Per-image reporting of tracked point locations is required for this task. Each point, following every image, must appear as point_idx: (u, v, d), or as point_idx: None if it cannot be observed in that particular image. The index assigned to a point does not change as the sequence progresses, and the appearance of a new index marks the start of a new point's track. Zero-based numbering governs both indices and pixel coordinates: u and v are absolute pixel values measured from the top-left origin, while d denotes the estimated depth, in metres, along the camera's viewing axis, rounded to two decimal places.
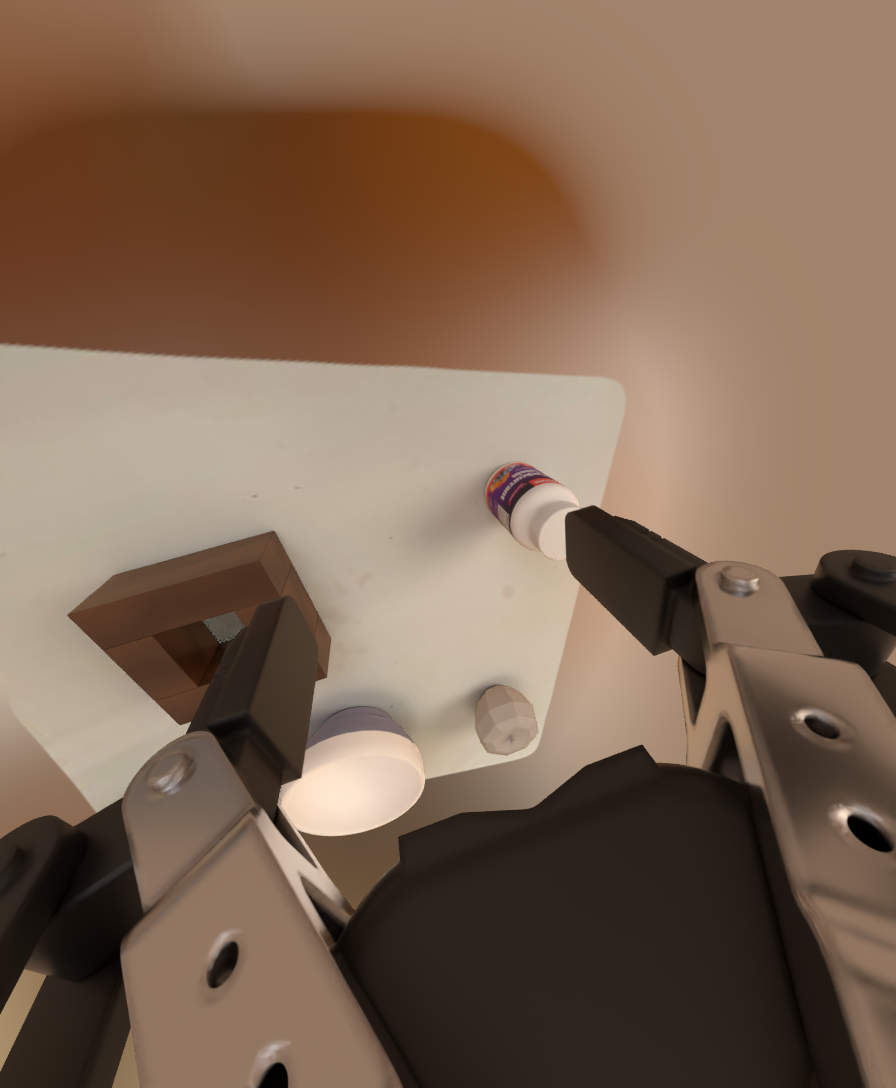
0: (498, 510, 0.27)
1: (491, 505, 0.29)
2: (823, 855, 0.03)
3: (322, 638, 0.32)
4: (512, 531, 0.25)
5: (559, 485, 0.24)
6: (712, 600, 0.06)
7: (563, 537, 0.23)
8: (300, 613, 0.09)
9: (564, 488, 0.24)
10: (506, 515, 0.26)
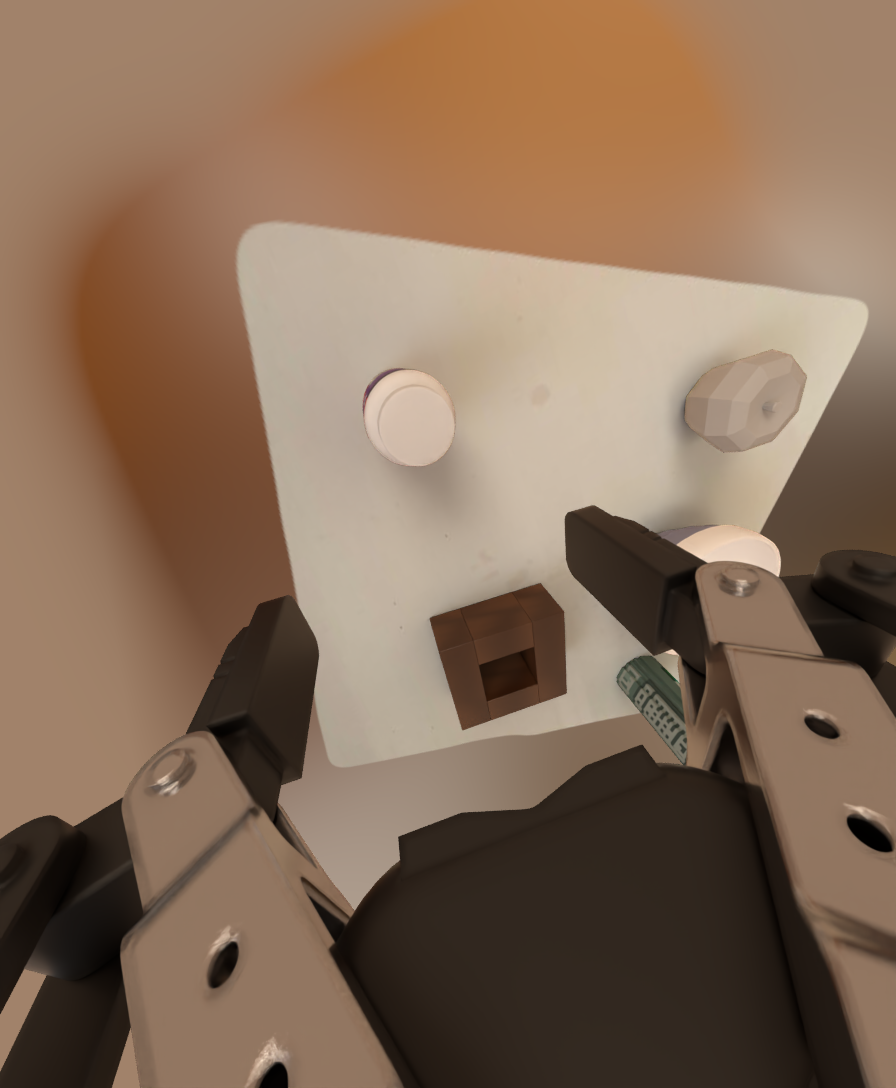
0: None
1: None
2: (823, 855, 0.03)
3: (532, 598, 0.35)
4: None
5: (365, 409, 0.19)
6: (712, 600, 0.06)
7: (421, 431, 0.18)
8: (300, 613, 0.09)
9: (368, 404, 0.19)
10: None
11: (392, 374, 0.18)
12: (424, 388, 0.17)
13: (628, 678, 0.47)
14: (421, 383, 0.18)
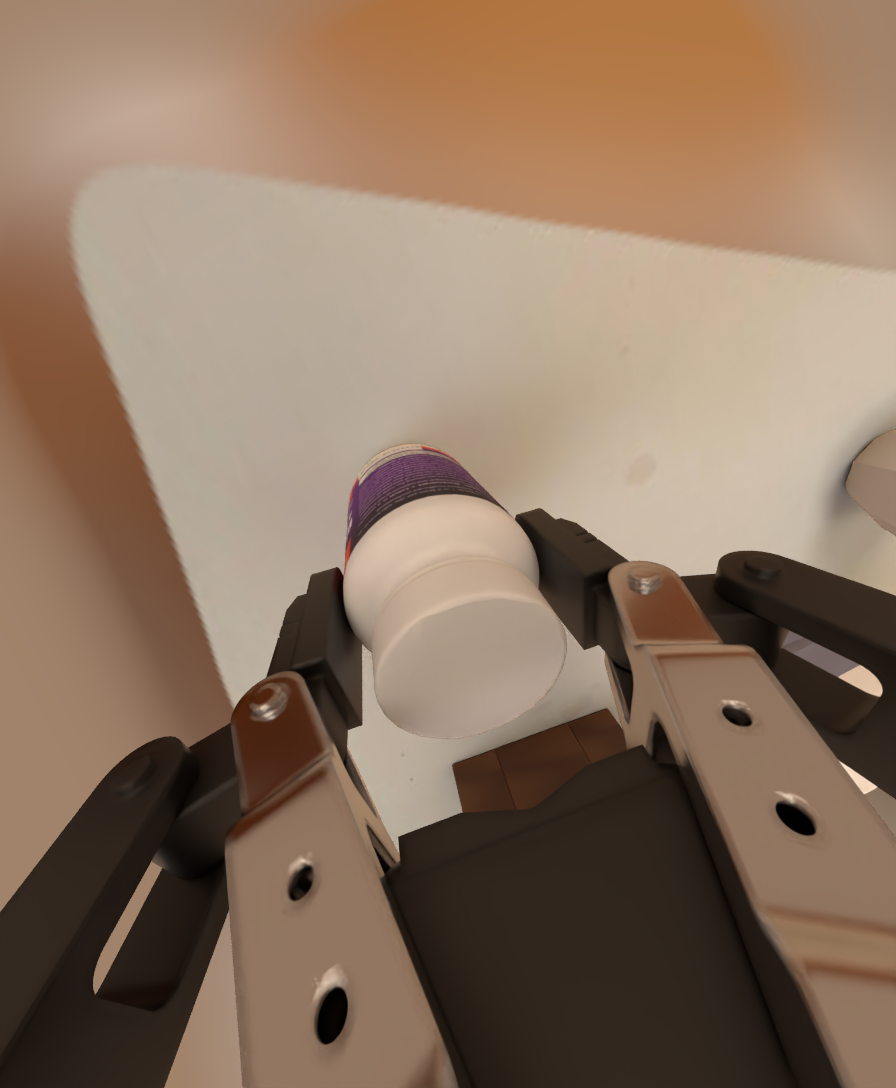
0: None
1: None
2: (766, 854, 0.03)
3: (600, 739, 0.24)
4: None
5: (345, 585, 0.08)
6: (626, 601, 0.06)
7: (483, 680, 0.07)
8: None
9: (350, 580, 0.08)
10: None
11: (407, 514, 0.08)
12: (501, 596, 0.06)
13: None
14: (476, 535, 0.08)
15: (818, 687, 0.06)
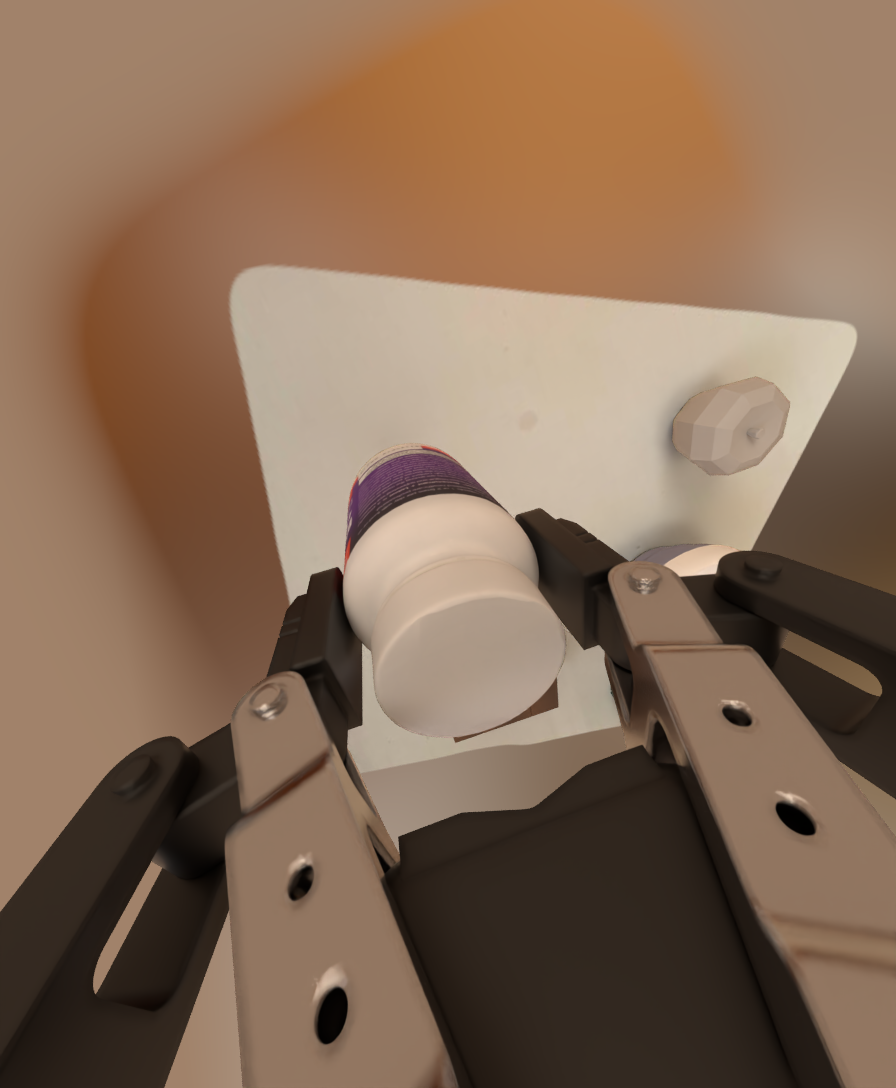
0: None
1: None
2: (766, 855, 0.03)
3: None
4: None
5: (344, 584, 0.08)
6: (626, 602, 0.06)
7: (483, 679, 0.07)
8: None
9: (349, 579, 0.08)
10: None
11: (406, 513, 0.08)
12: (500, 595, 0.06)
13: None
14: (475, 535, 0.08)
15: (818, 687, 0.06)
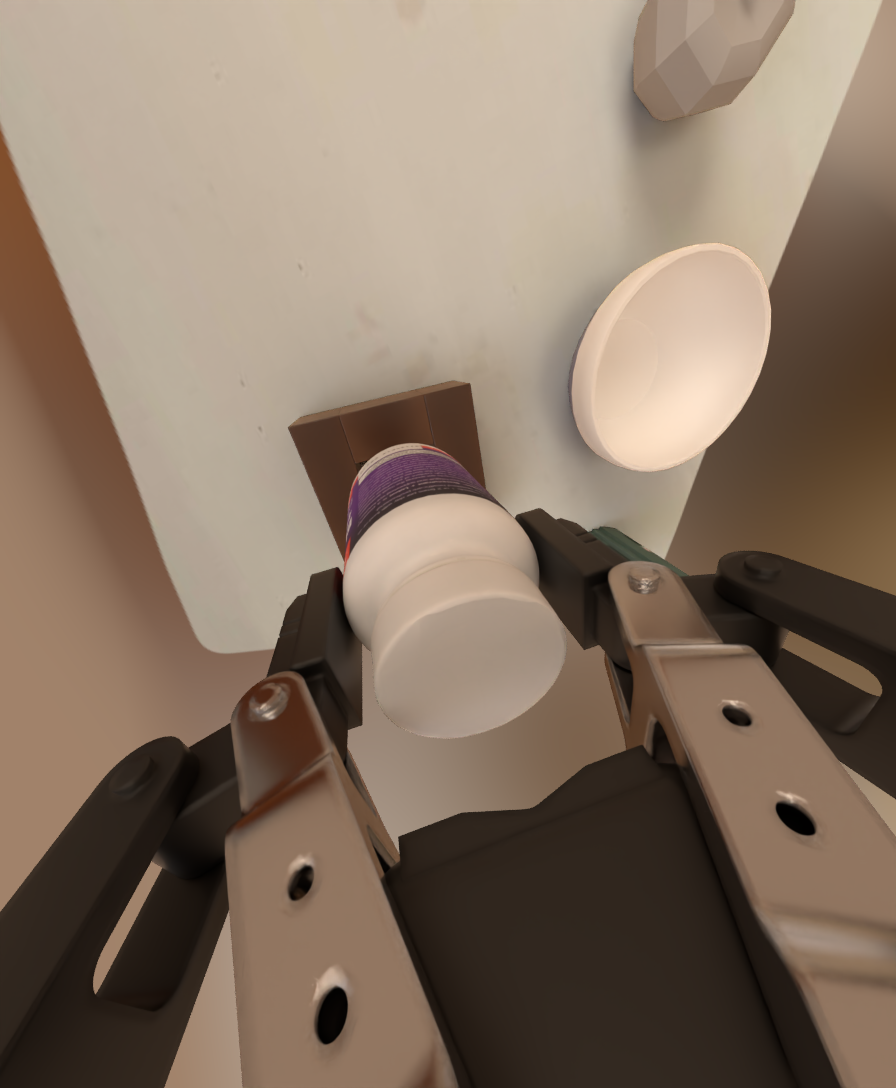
0: None
1: None
2: (766, 855, 0.03)
3: (435, 386, 0.26)
4: None
5: (344, 584, 0.08)
6: (626, 601, 0.06)
7: (483, 680, 0.07)
8: None
9: (349, 580, 0.08)
10: None
11: (406, 513, 0.08)
12: (501, 596, 0.06)
13: None
14: (476, 535, 0.08)
15: (818, 687, 0.06)
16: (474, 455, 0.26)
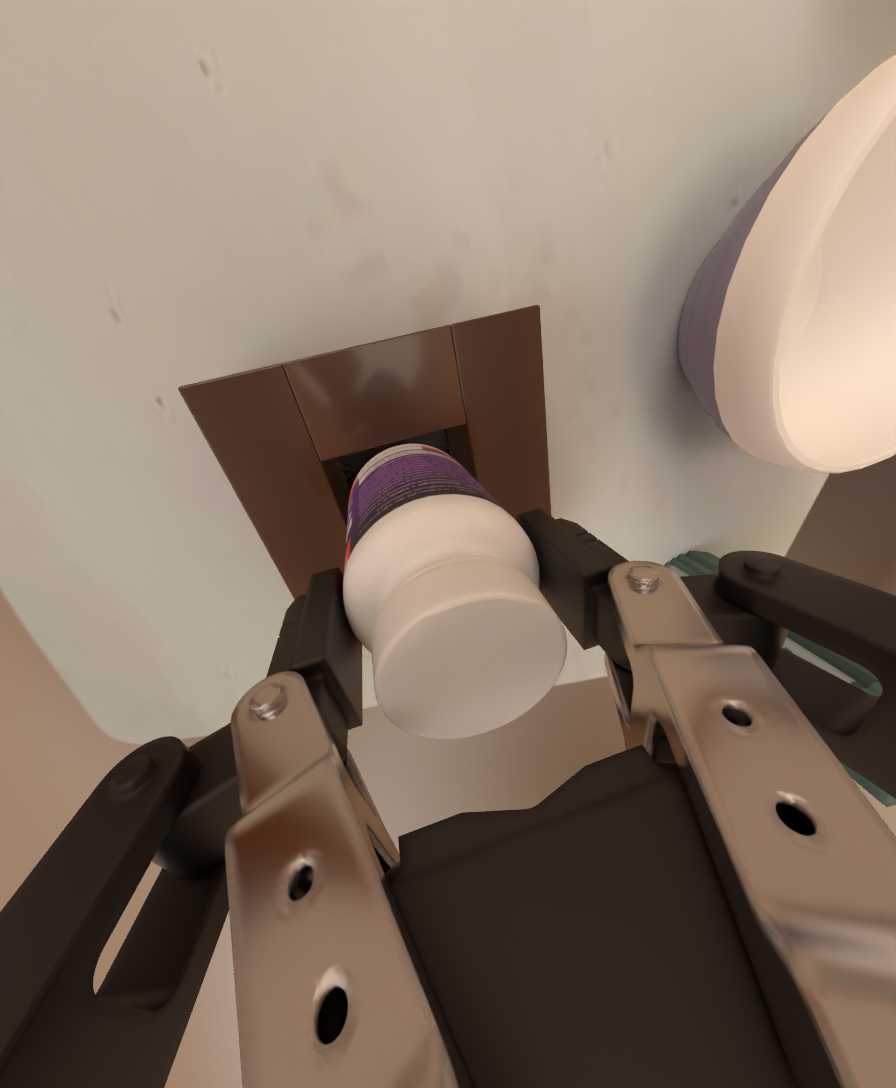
0: None
1: None
2: (765, 855, 0.03)
3: None
4: None
5: (345, 585, 0.08)
6: (626, 601, 0.06)
7: (483, 680, 0.07)
8: None
9: (350, 580, 0.08)
10: None
11: (407, 514, 0.08)
12: (501, 596, 0.06)
13: None
14: (476, 535, 0.08)
15: (818, 687, 0.06)
16: (536, 446, 0.15)
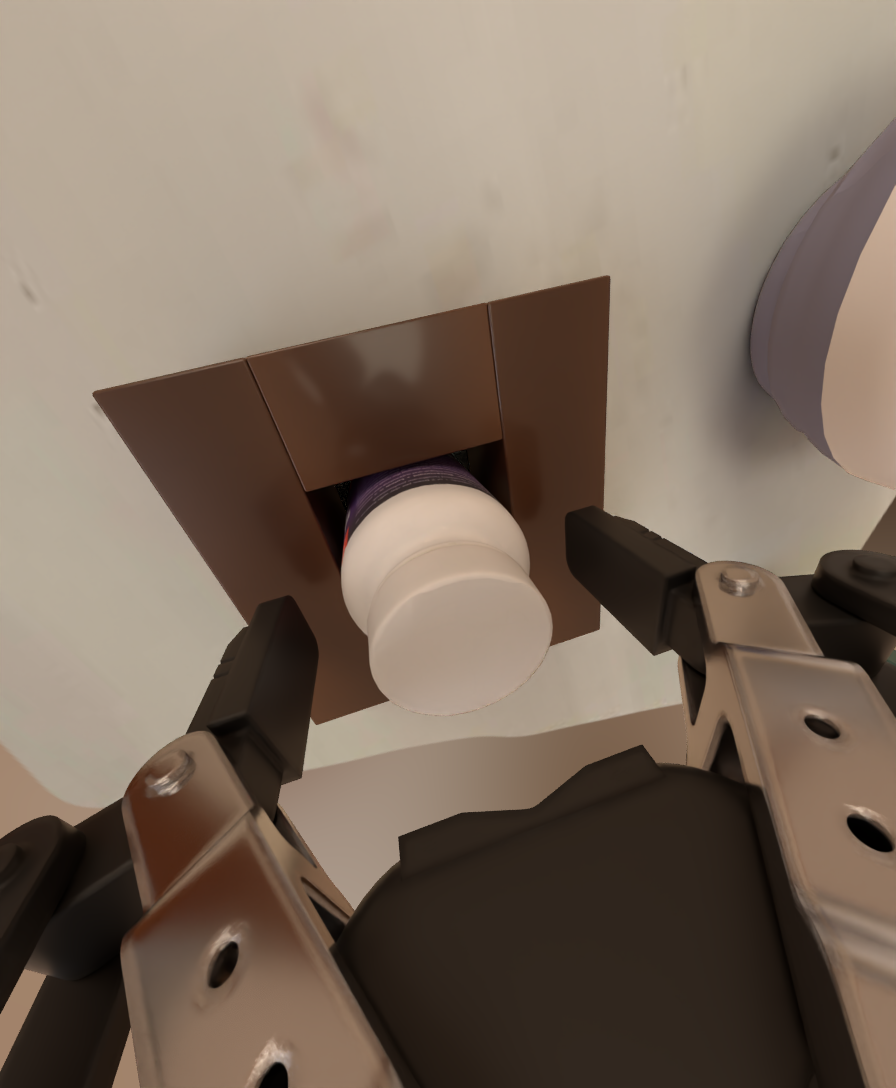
0: None
1: None
2: (823, 855, 0.03)
3: None
4: None
5: (342, 571, 0.09)
6: (712, 600, 0.06)
7: (473, 658, 0.07)
8: (300, 613, 0.09)
9: (347, 566, 0.08)
10: None
11: (401, 502, 0.08)
12: (488, 576, 0.06)
13: None
14: (467, 522, 0.08)
15: None
16: (591, 467, 0.11)
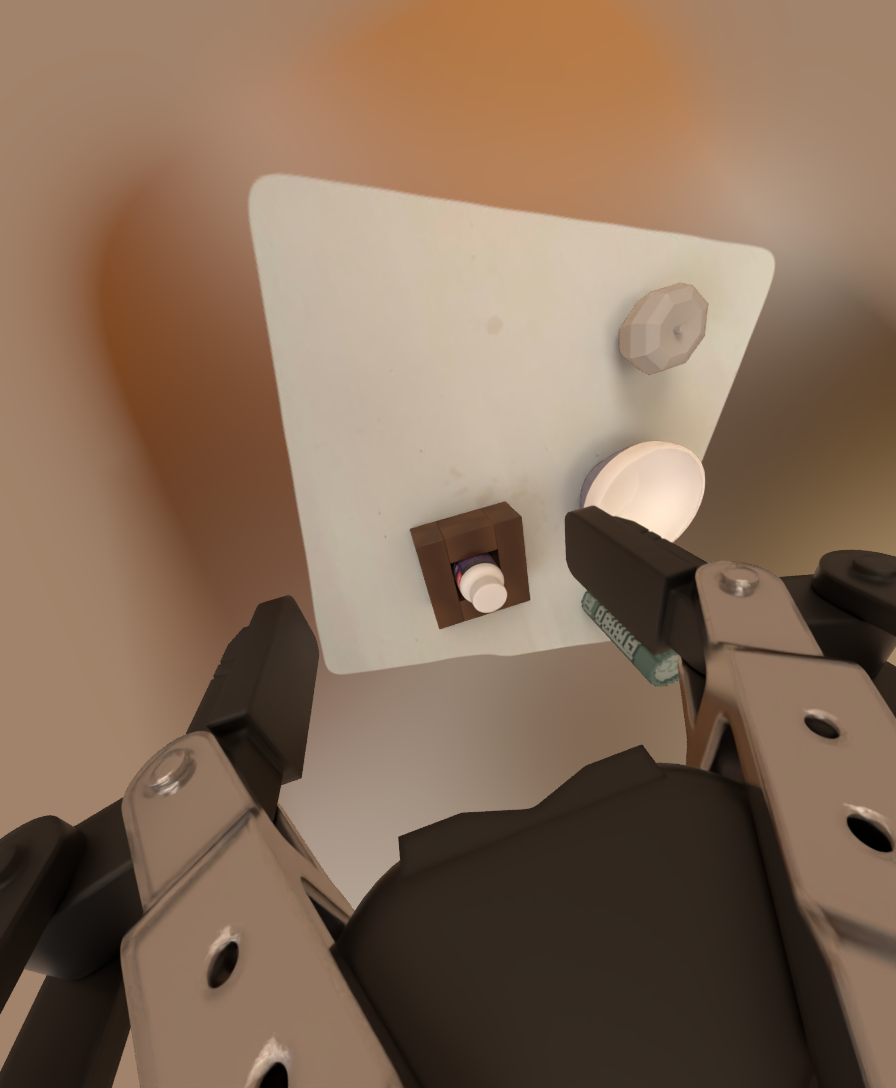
0: None
1: None
2: (823, 855, 0.03)
3: (496, 510, 0.41)
4: None
5: (461, 582, 0.39)
6: (712, 600, 0.06)
7: (491, 599, 0.37)
8: (300, 613, 0.09)
9: (463, 581, 0.39)
10: None
11: (475, 568, 0.38)
12: (494, 584, 0.37)
13: (590, 600, 0.53)
14: (489, 572, 0.38)
15: None
16: (521, 553, 0.41)
